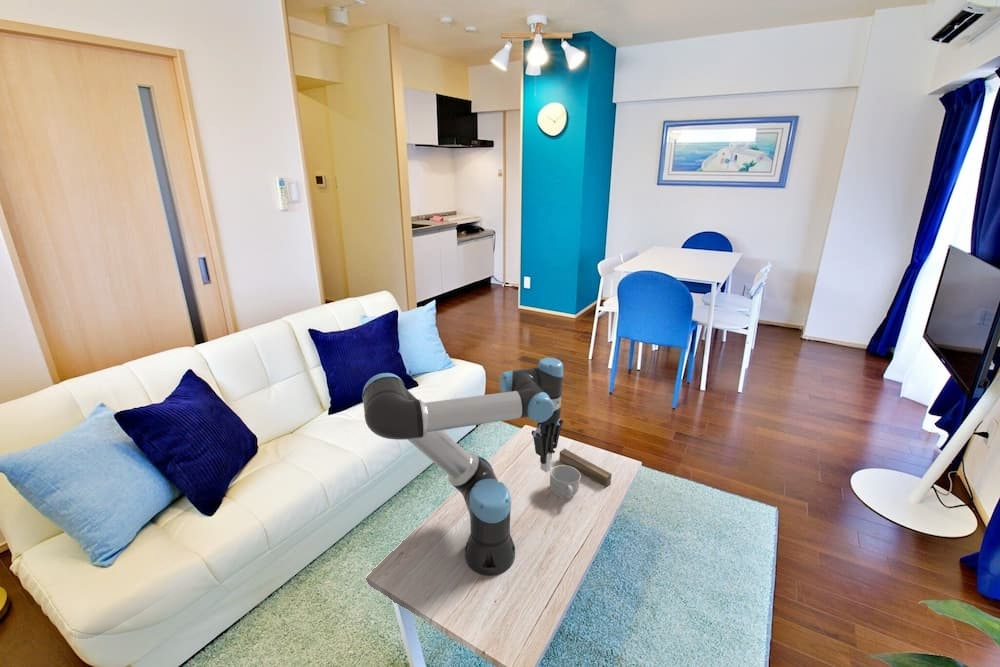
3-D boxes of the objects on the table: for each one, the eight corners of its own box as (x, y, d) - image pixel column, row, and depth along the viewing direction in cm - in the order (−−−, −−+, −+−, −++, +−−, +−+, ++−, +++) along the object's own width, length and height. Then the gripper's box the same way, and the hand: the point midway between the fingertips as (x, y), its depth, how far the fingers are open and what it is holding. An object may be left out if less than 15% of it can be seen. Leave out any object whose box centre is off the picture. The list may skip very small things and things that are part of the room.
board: (605, 487, 171) (606, 477, 169) (559, 461, 186) (559, 451, 184) (610, 484, 173) (611, 473, 171) (563, 458, 188) (564, 448, 186)
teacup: (549, 481, 174) (550, 463, 171) (578, 483, 173) (580, 465, 170) (549, 506, 161) (550, 487, 158) (581, 509, 160) (582, 490, 157)
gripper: (543, 418, 139) (540, 483, 147) (571, 403, 148) (567, 466, 156) (525, 409, 144) (523, 473, 152) (553, 395, 153) (550, 456, 161)
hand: (545, 469), depth 154 cm, fingers closed
